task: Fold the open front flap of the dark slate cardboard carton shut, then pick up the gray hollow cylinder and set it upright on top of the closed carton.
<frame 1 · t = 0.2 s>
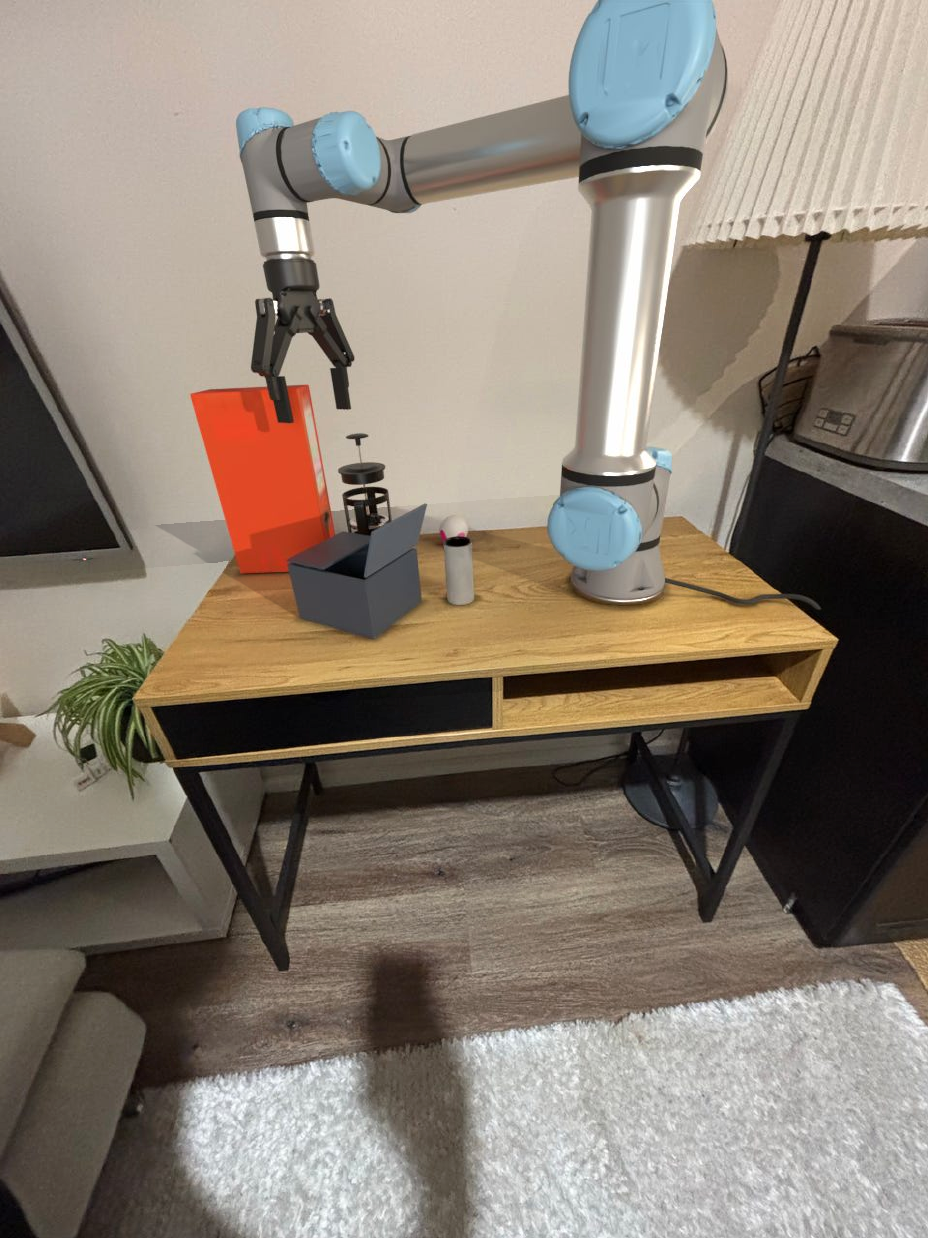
hand: (316, 415, 85), 28 cm above the table, tool pointing down, fingers open, 13 cm apart
french press: (373, 551, 106), on the table
flap: (396, 539, 74), point 14 cm above the table, hinge at 110.0°
file binder: (291, 565, 102), on the table
carton: (362, 609, 84), on the table
gray hollow cylinder: (460, 600, 86), on the table
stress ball: (451, 544, 108), on the table
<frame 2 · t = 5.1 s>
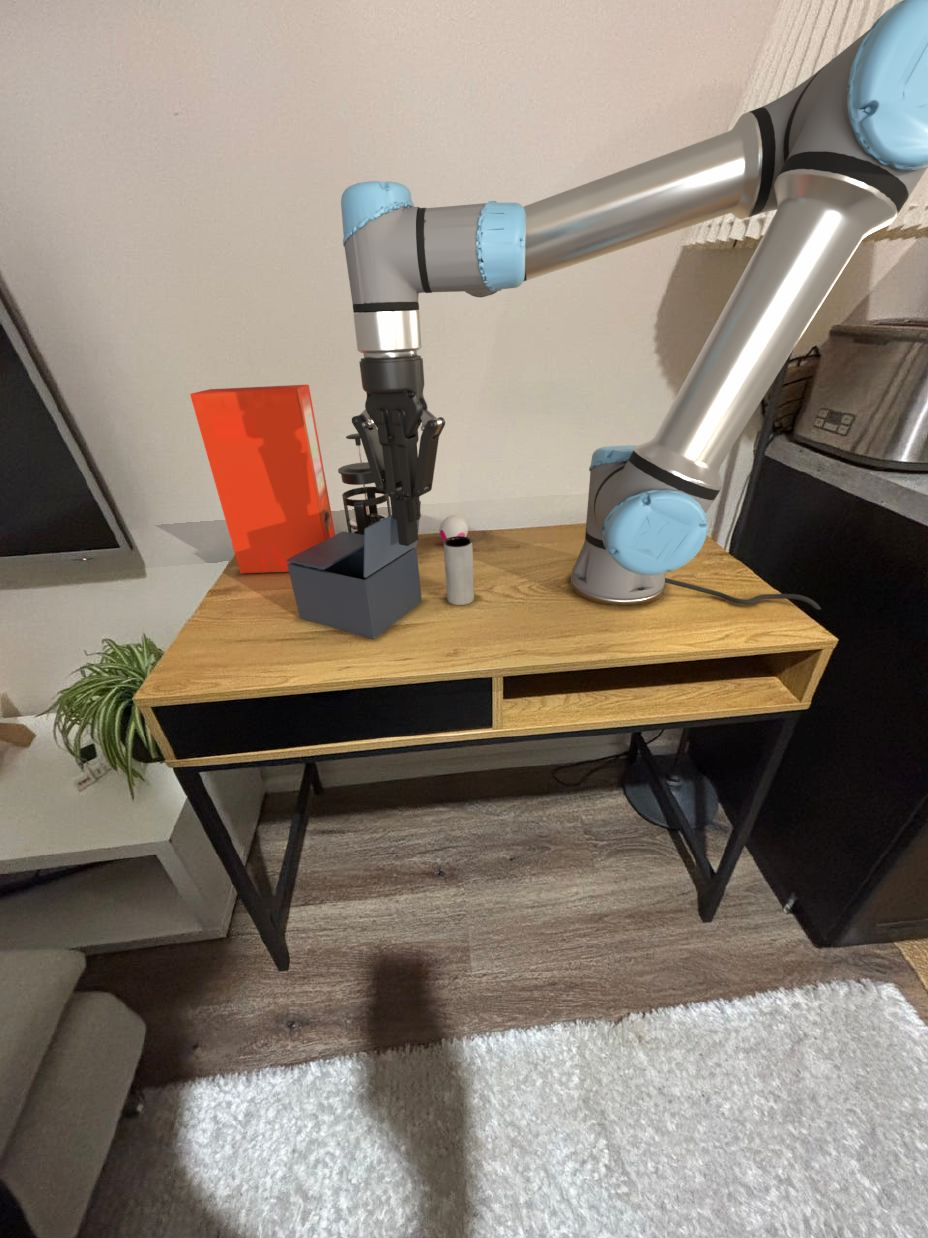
hand: (408, 541, 73), 14 cm above the table, tool pointing down, fingers closed
flap: (393, 537, 74), point 14 cm above the table, hinge at 101.2°
everything else where it was.
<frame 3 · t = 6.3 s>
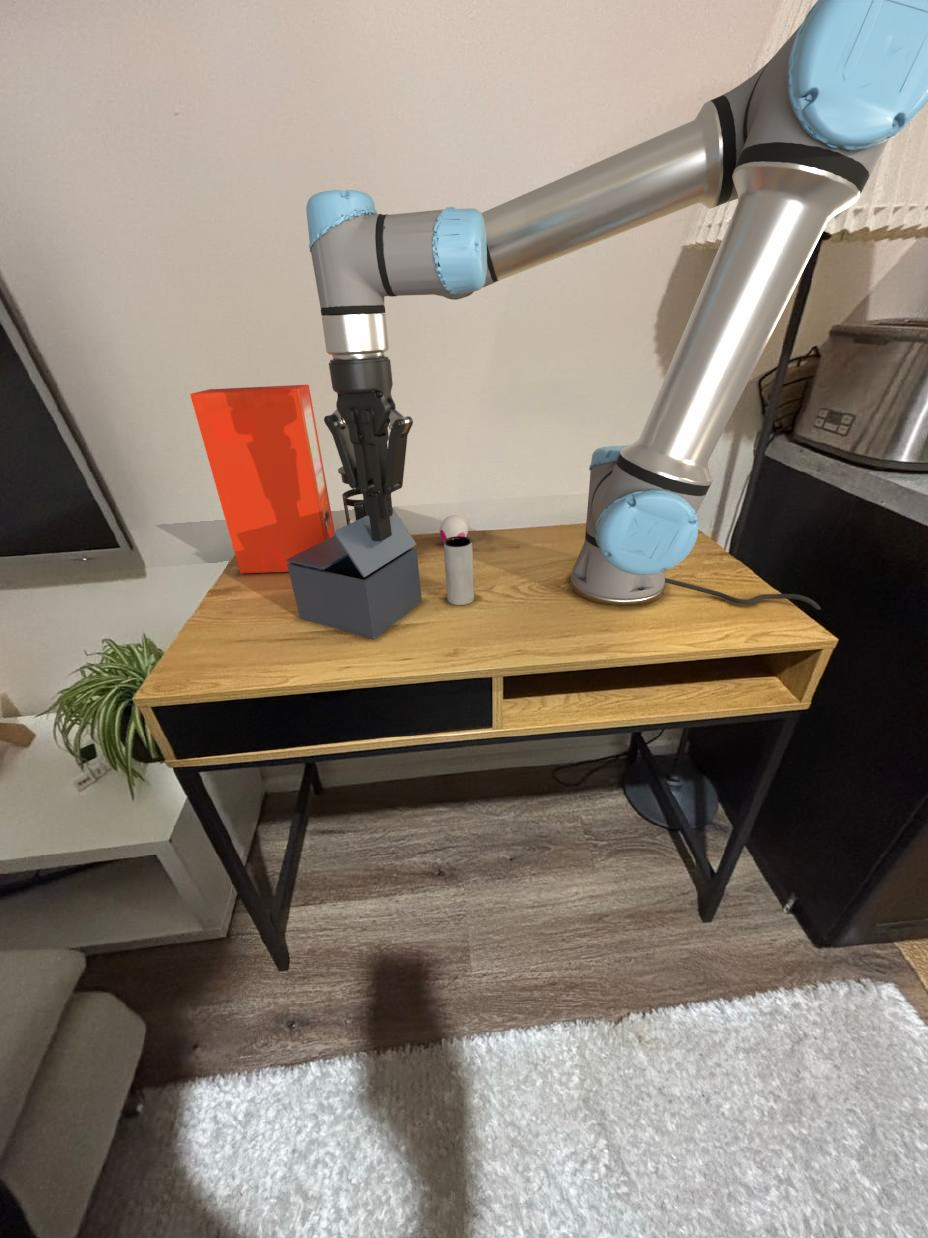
hand: (382, 537, 75), 14 cm above the table, tool pointing down, fingers closed
flap: (377, 538, 75), point 13 cm above the table, hinge at 54.8°, touching gripper
everything else where it was.
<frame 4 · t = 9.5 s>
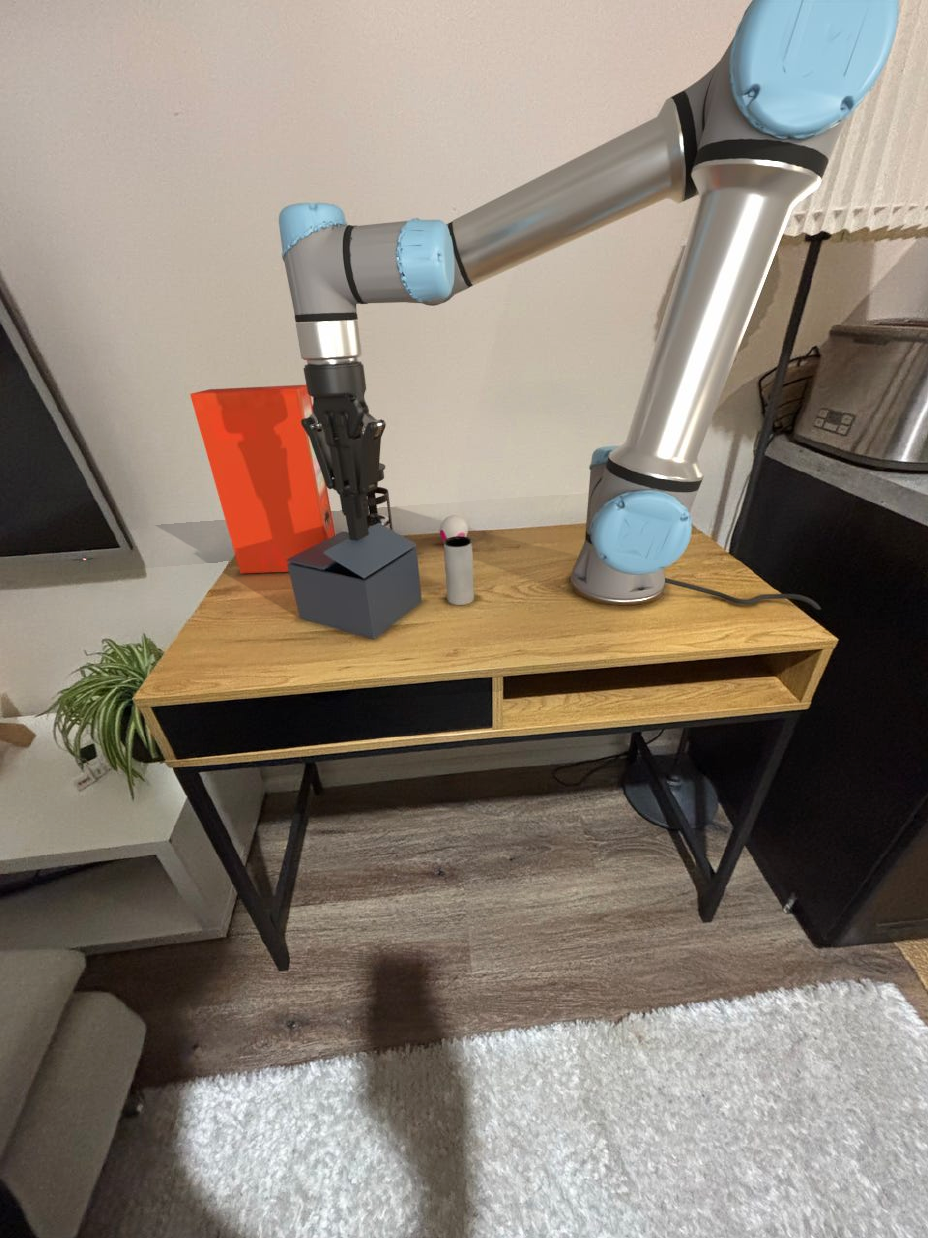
hand: (359, 536, 77), 13 cm above the table, tool pointing down, fingers closed
flap: (372, 548, 77), point 11 cm above the table, hinge at 20.7°, touching gripper
everything else where it was.
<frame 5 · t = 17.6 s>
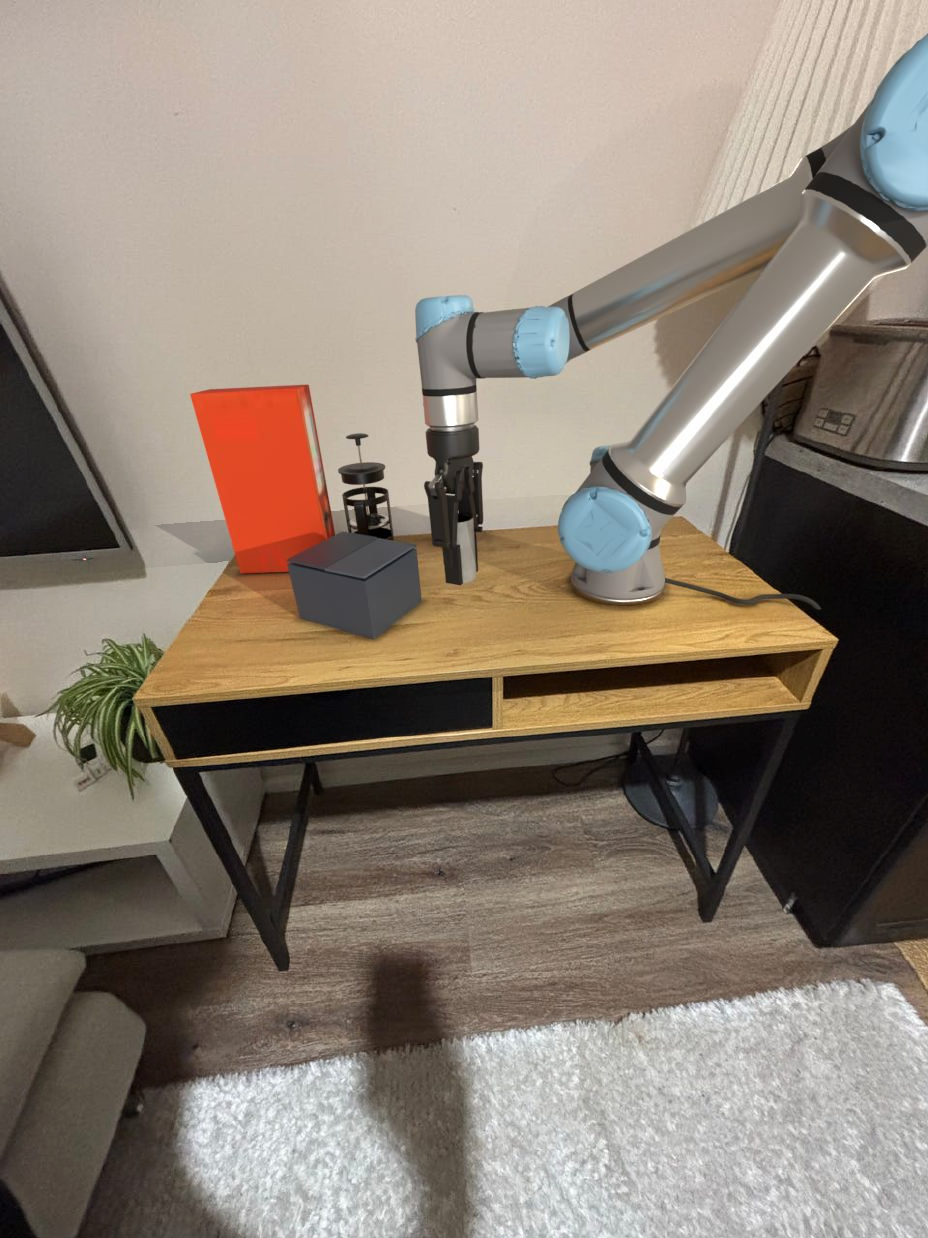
hand: (462, 576, 84), 4 cm above the table, tool pointing down, fingers closed on gray hollow cylinder, 5 cm apart
flap: (371, 556, 78), point 10 cm above the table, hinge at -0.9°
gray hollow cylinder: (462, 579, 84), point 4 cm above the table, touching gripper
everything else where it was.
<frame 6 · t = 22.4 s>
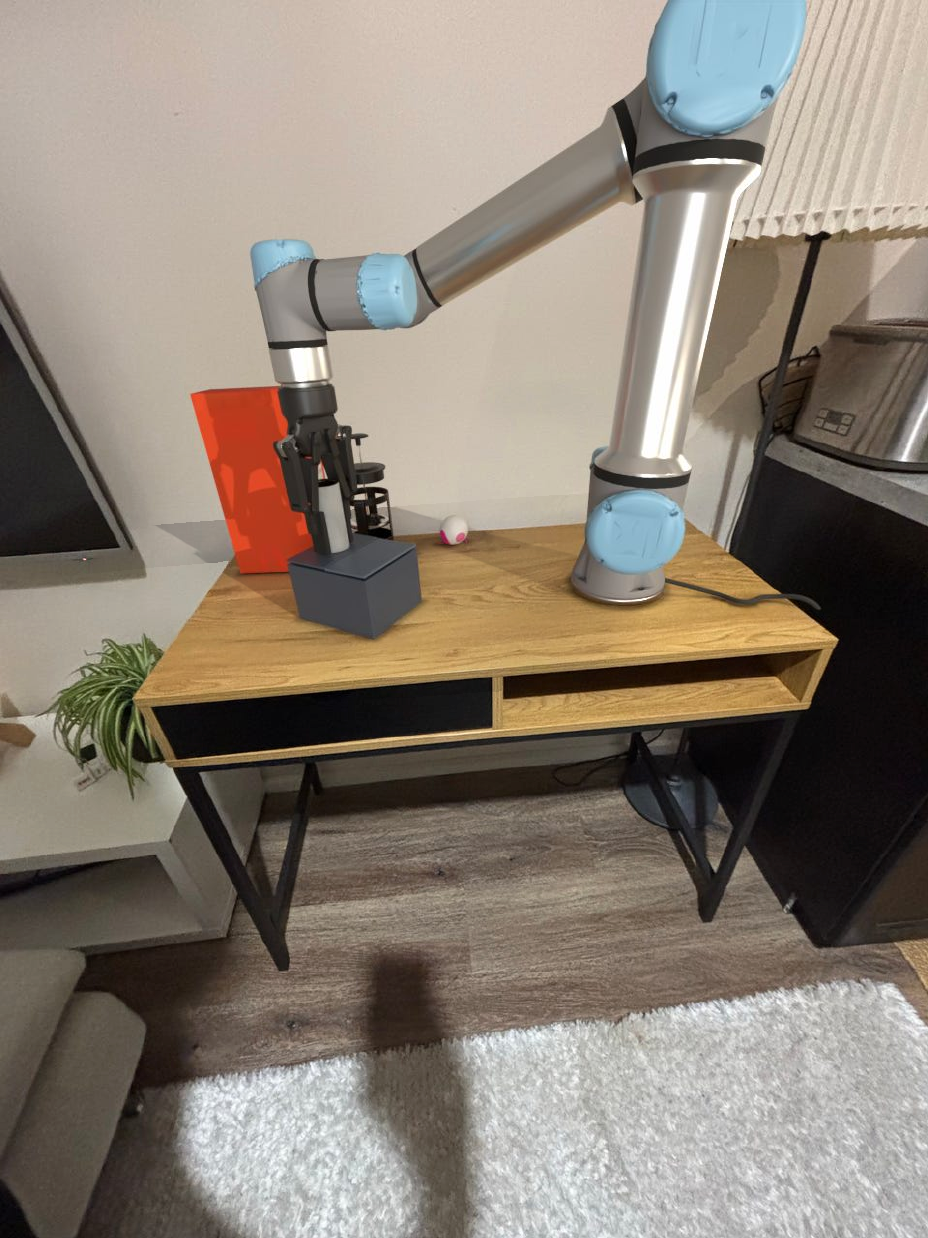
hand: (334, 546, 80), 11 cm above the table, tool pointing down, fingers closed on gray hollow cylinder, 5 cm apart
gray hollow cylinder: (335, 549, 81), point 10 cm above the table, touching gripper
everything else where it was.
when the fingers open (11 cm above the table, at t = 24.4 s): gray hollow cylinder stays where it is, resting on carton.
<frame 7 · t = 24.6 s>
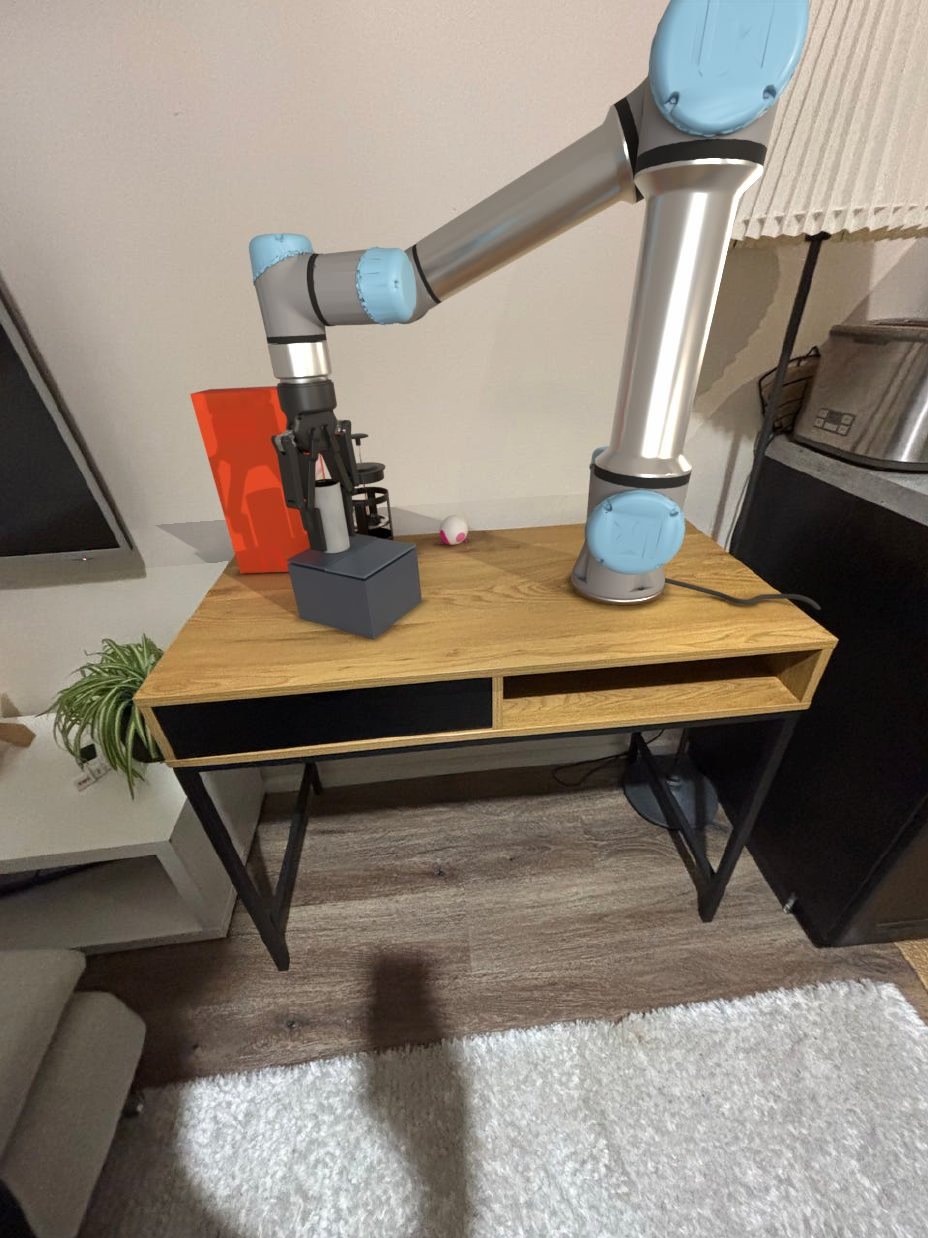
hand: (333, 541, 80), 11 cm above the table, tool pointing down, fingers open, 6 cm apart
gray hollow cylinder: (335, 549, 81), point 10 cm above the table, touching carton
everything else where it was.
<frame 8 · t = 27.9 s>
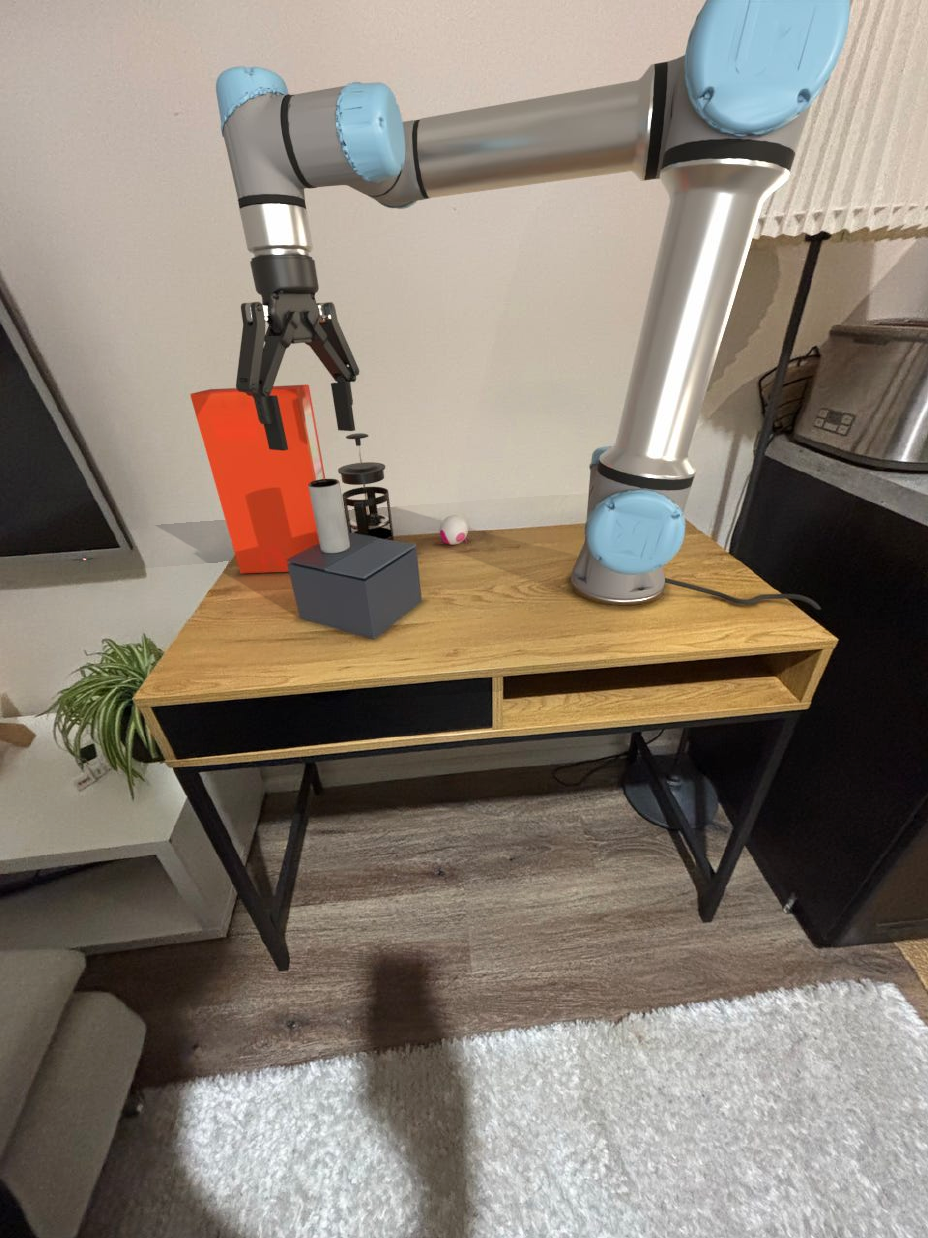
hand: (315, 439, 72), 27 cm above the table, tool pointing down, fingers open, 13 cm apart
nothing on the table moved.
at the end: flap at -1° (first picture: +110°); gray hollow cylinder inside the target area on the carton (3.4 cm from its centre), point 10.1 cm above the carton's base; gray hollow cylinder tilted 0° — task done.
